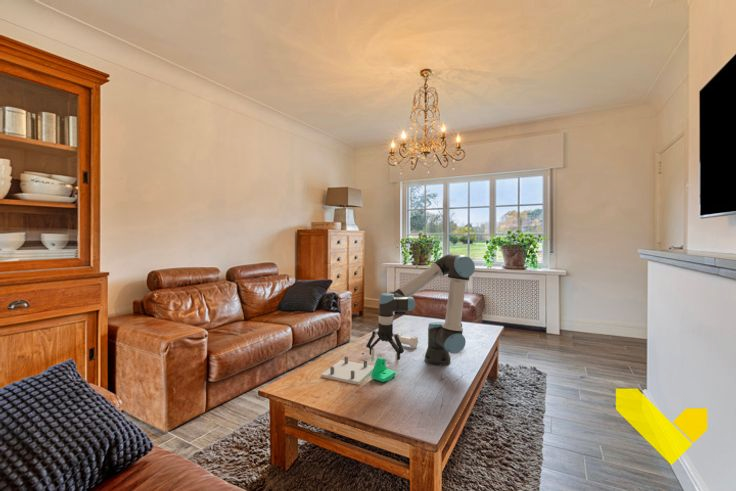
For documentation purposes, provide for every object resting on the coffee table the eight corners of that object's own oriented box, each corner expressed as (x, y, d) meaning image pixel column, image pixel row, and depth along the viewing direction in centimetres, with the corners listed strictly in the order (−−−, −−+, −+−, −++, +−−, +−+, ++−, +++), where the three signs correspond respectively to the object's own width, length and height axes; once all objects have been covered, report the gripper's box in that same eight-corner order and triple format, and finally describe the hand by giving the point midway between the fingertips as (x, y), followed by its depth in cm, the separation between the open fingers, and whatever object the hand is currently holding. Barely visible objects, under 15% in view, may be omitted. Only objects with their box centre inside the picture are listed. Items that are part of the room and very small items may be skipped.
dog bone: (418, 347, 228) (419, 335, 228) (412, 350, 221) (413, 337, 221) (398, 343, 236) (399, 331, 236) (392, 345, 229) (393, 333, 229)
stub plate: (375, 368, 190) (375, 360, 190) (358, 384, 170) (359, 375, 170) (340, 362, 199) (341, 353, 199) (321, 376, 179) (321, 367, 179)
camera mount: (383, 384, 172) (383, 364, 171) (371, 380, 176) (371, 360, 176) (396, 376, 181) (396, 357, 181) (384, 372, 186) (384, 354, 185)
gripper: (410, 324, 176) (409, 365, 176) (366, 318, 186) (365, 356, 186) (406, 328, 169) (405, 370, 169) (360, 321, 179) (359, 361, 179)
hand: (384, 363), depth 178 cm, fingers open, 13 cm apart
